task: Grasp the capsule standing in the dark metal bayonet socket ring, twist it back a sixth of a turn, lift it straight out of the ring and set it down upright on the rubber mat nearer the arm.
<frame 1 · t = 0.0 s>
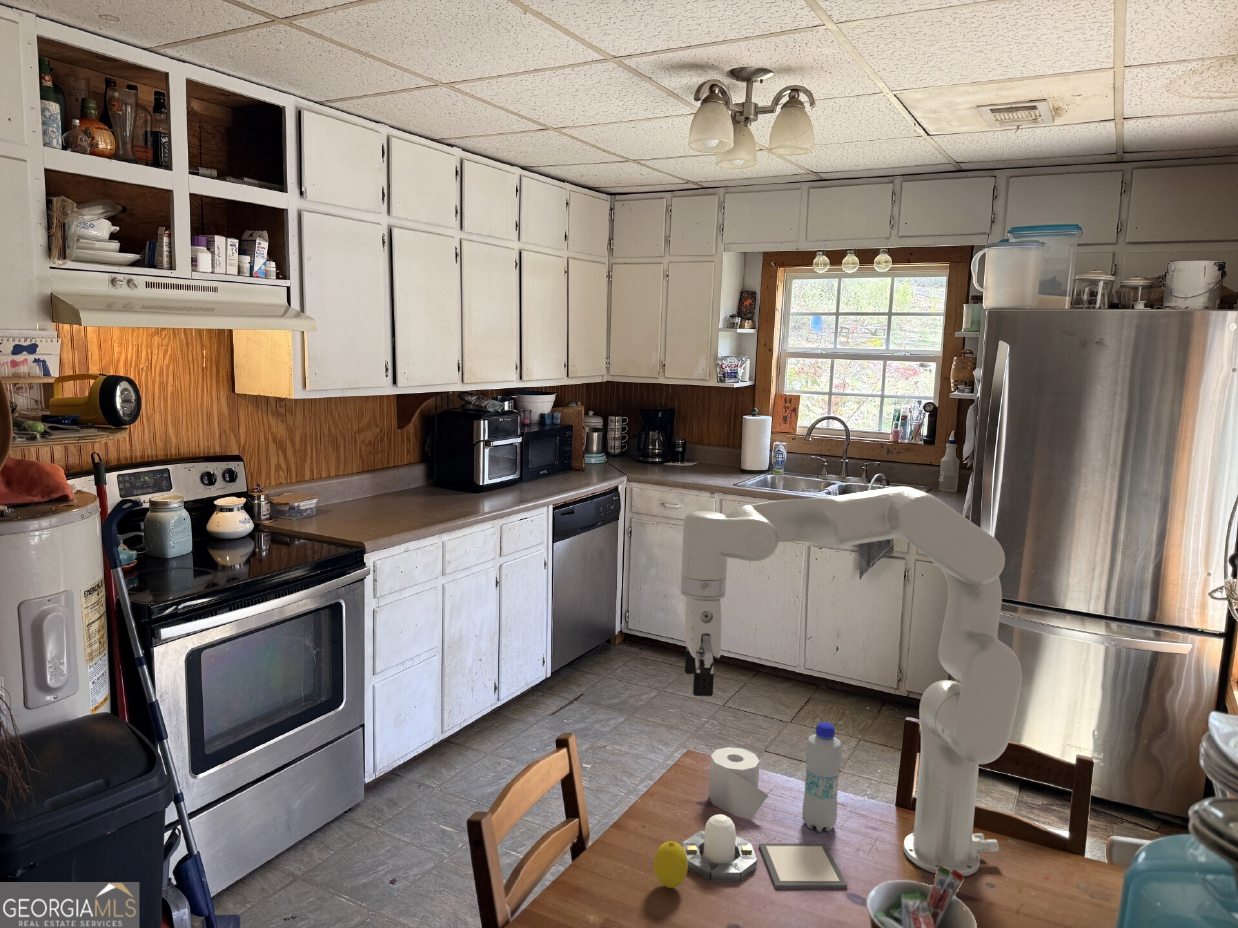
hand: (698, 683, 139), 31 cm above the table, fingers open, 9 cm apart
bottle: (818, 825, 154), on the table
toilet tissue: (736, 803, 161), on the table
mat: (801, 866, 141), on the table
capsule: (718, 860, 142), resting in socket ring
socket ring: (718, 859, 142), on the table
lemon: (669, 888, 134), on the table
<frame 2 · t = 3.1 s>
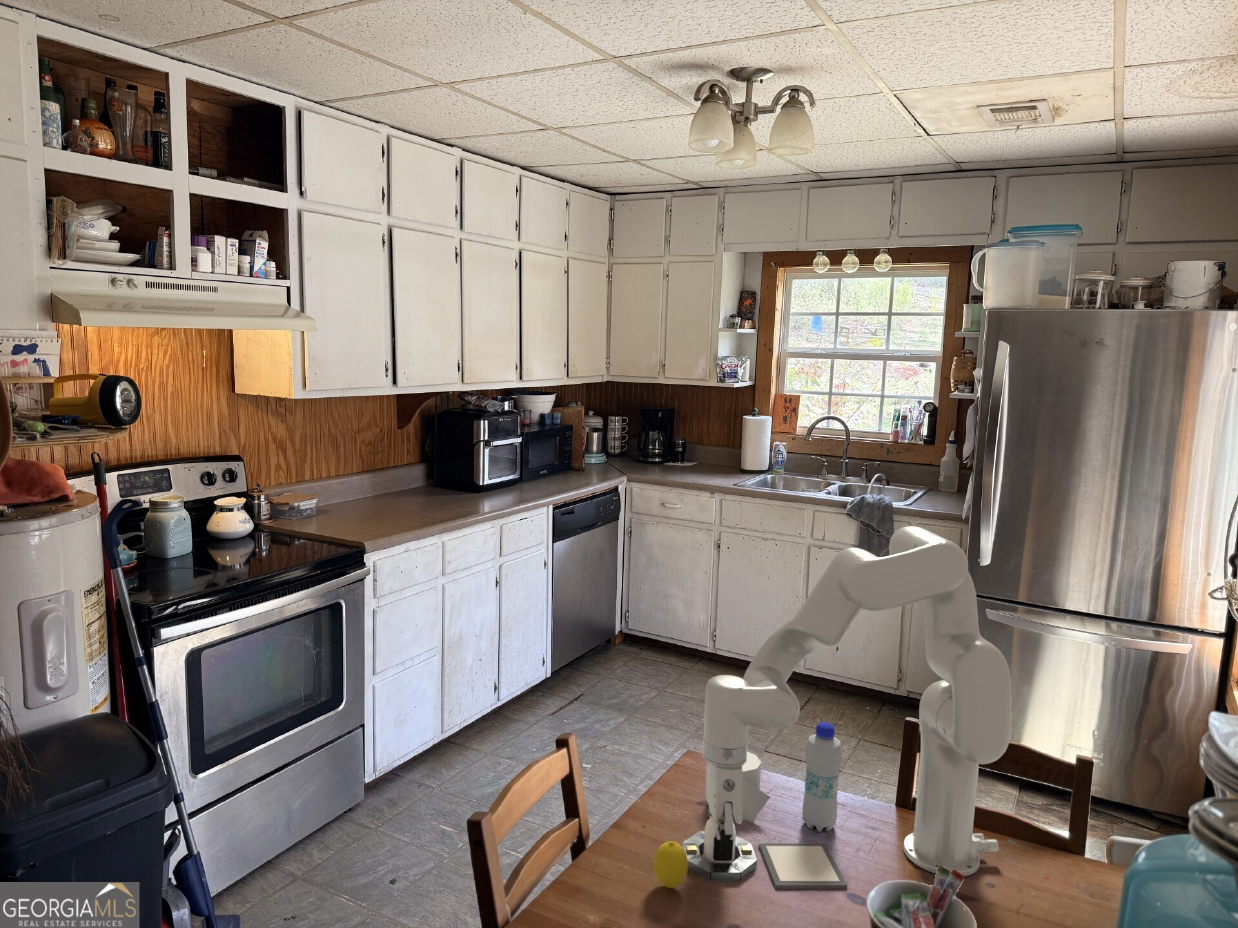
hand: (719, 848, 142), 2 cm above the table, fingers closed on capsule, 5 cm apart
capsule: (718, 860, 142), resting in socket ring, touching gripper
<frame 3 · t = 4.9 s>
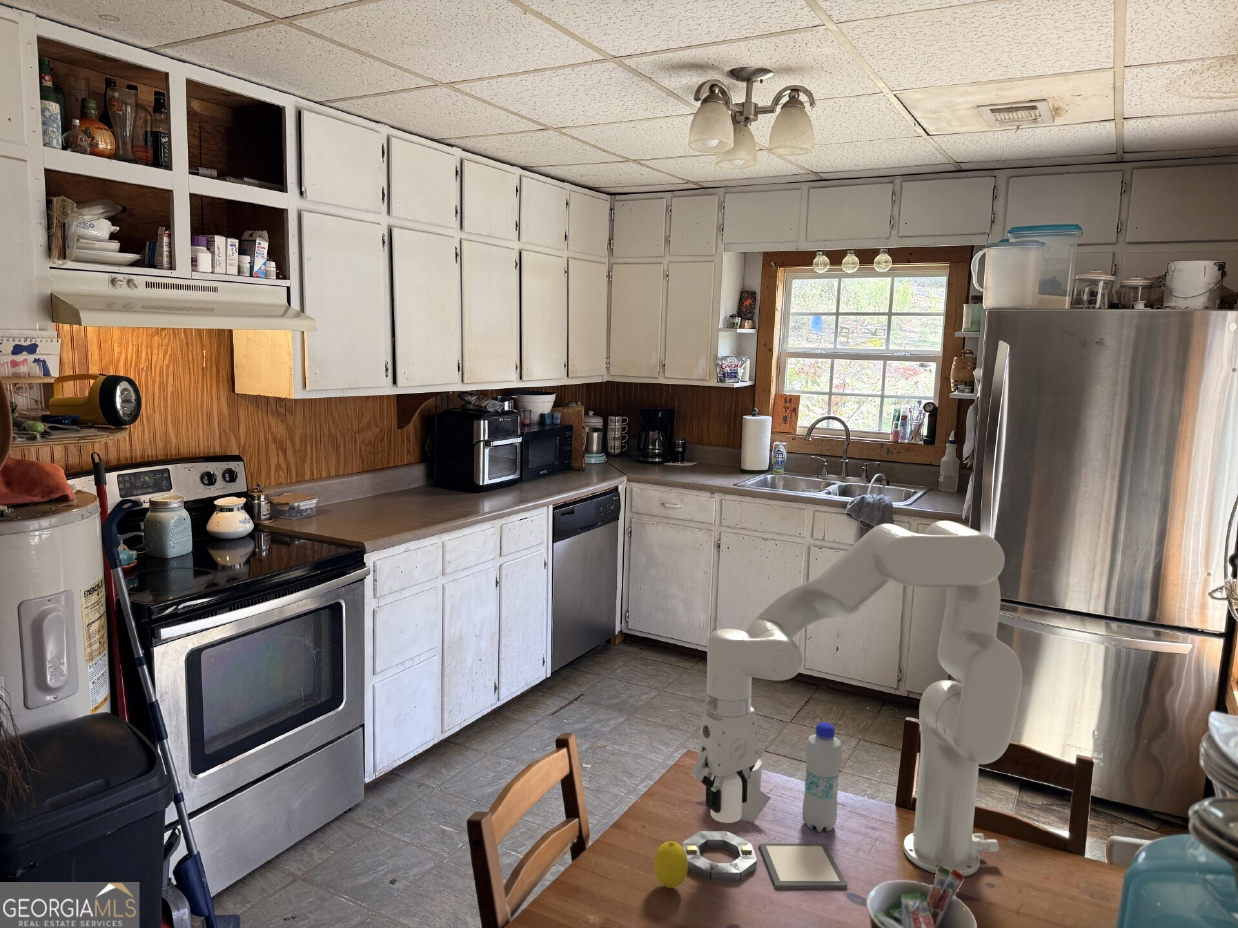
hand: (726, 802, 141), 10 cm above the table, fingers closed on capsule, 5 cm apart
capsule: (726, 815, 141), point 8 cm above the table, touching gripper
everything else where it was.
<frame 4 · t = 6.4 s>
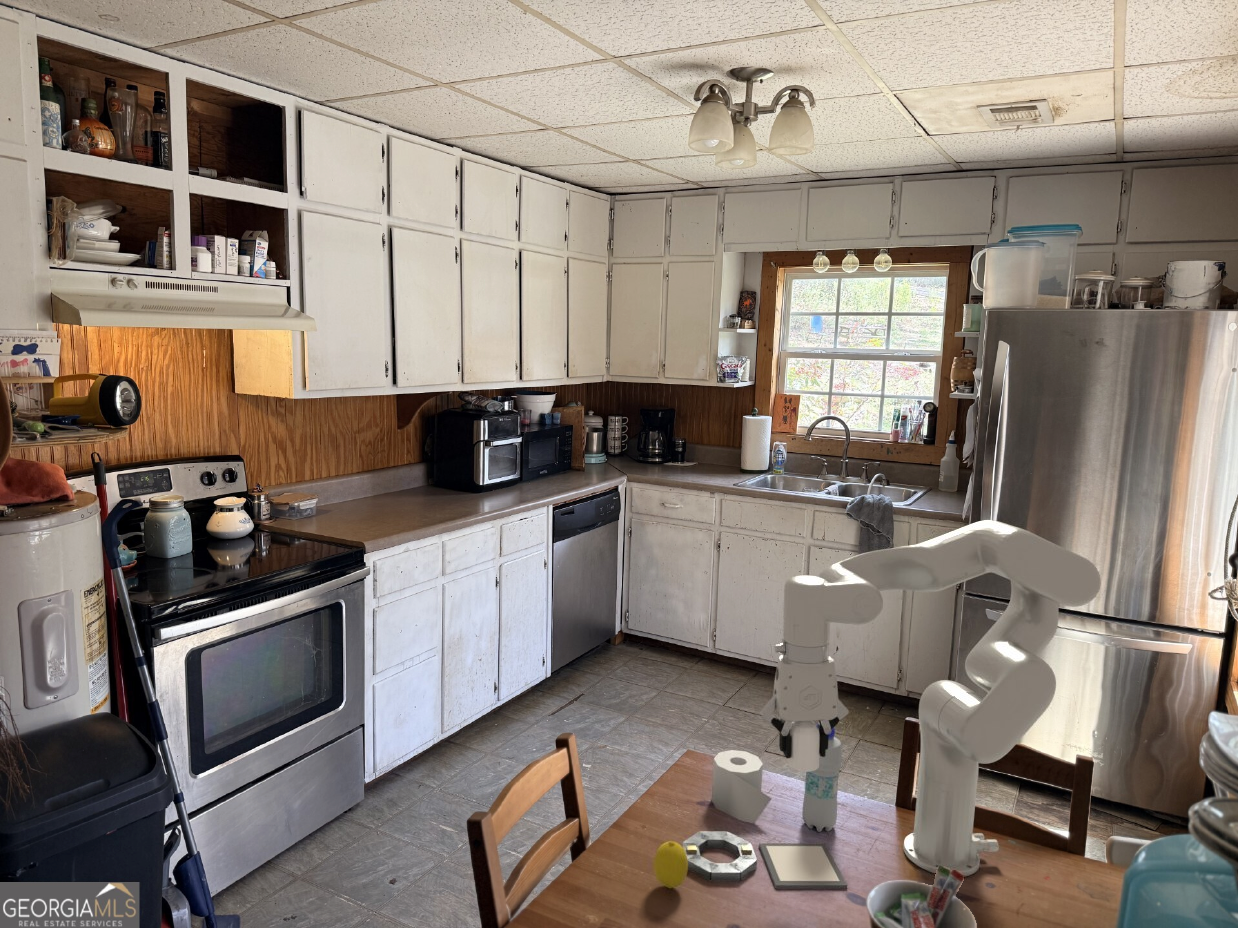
hand: (803, 752, 139), 20 cm above the table, fingers closed on capsule, 5 cm apart
capsule: (802, 764, 139), point 18 cm above the table, touching gripper
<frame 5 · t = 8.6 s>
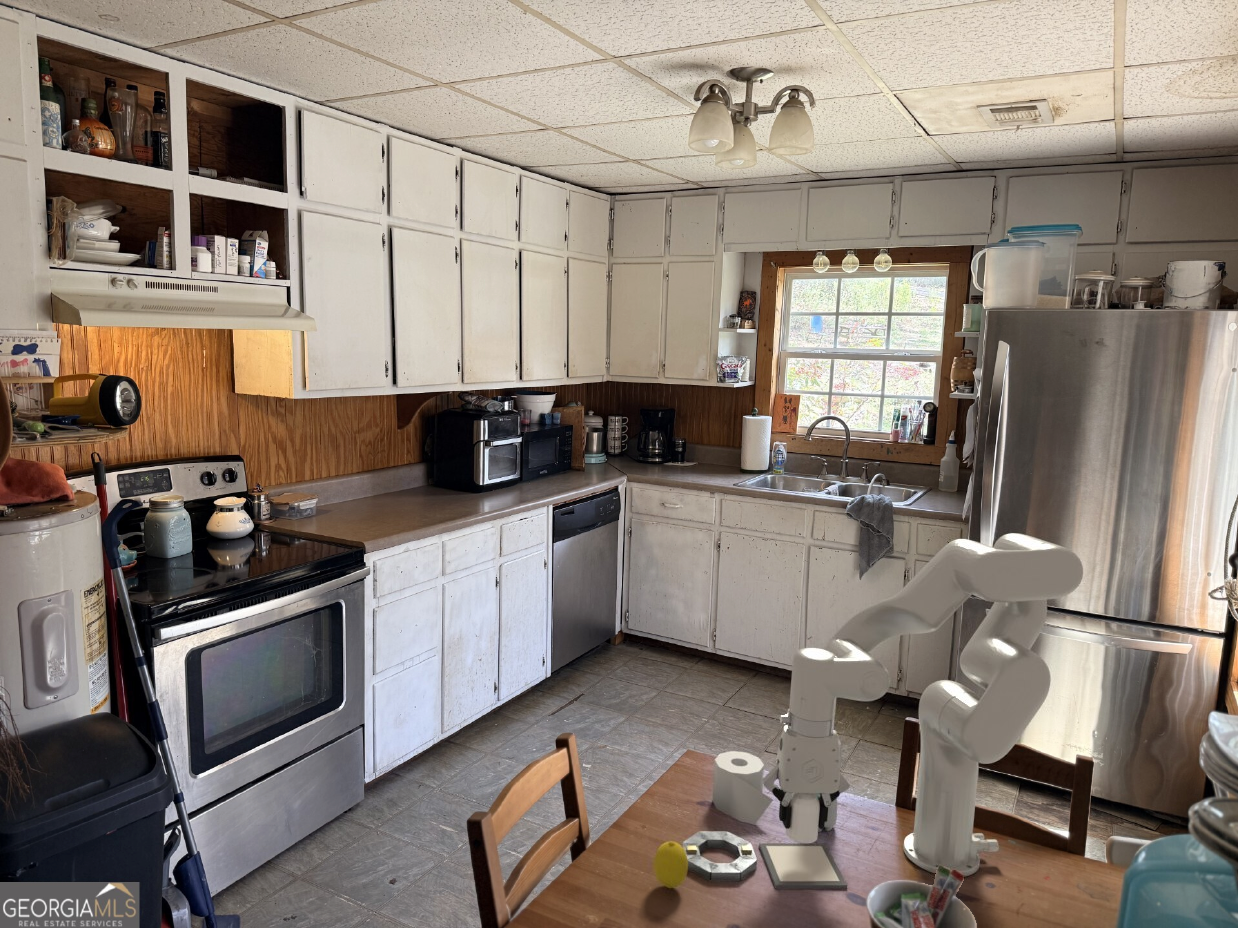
hand: (802, 823, 140), 8 cm above the table, fingers closed on capsule, 5 cm apart
capsule: (801, 835, 140), point 6 cm above the table, touching gripper
when the fingers open (3 cm above the table, at t = 10.2 s): capsule stays where it is, resting on mat.
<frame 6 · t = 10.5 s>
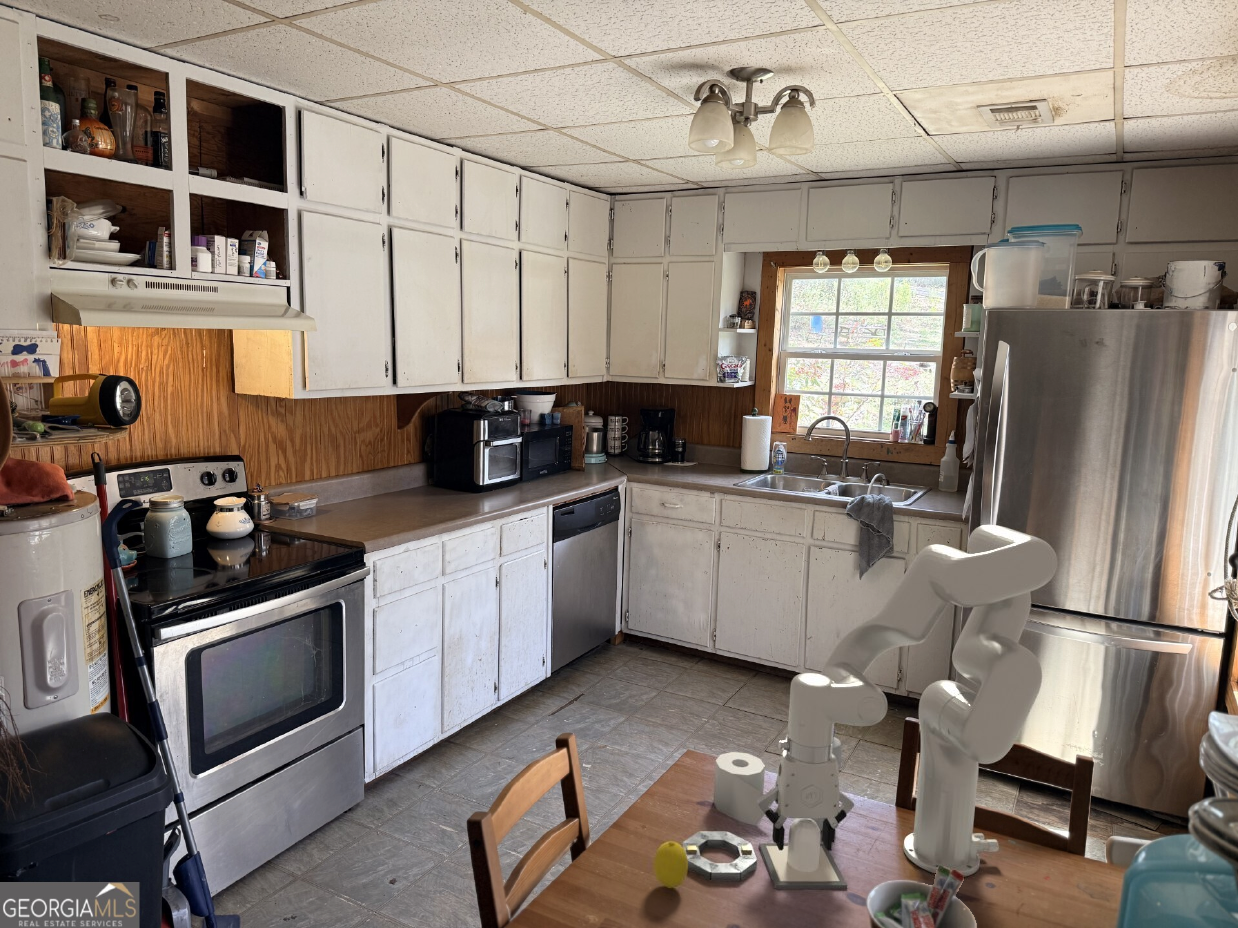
hand: (802, 845, 141), 4 cm above the table, fingers open, 7 cm apart
capsule: (802, 863, 141), point 1 cm above the table, touching mat
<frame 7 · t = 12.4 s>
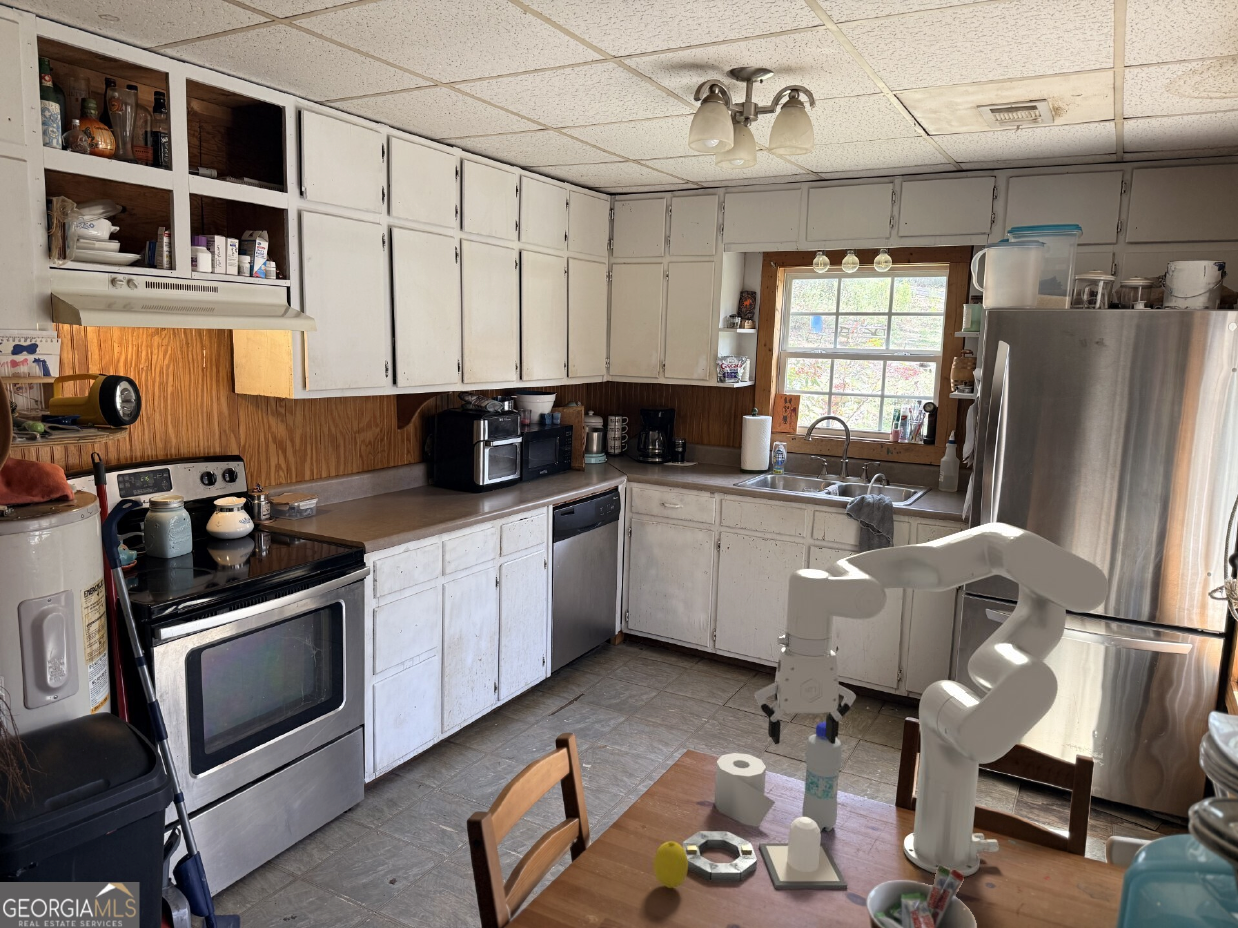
hand: (802, 740, 140), 22 cm above the table, fingers open, 9 cm apart
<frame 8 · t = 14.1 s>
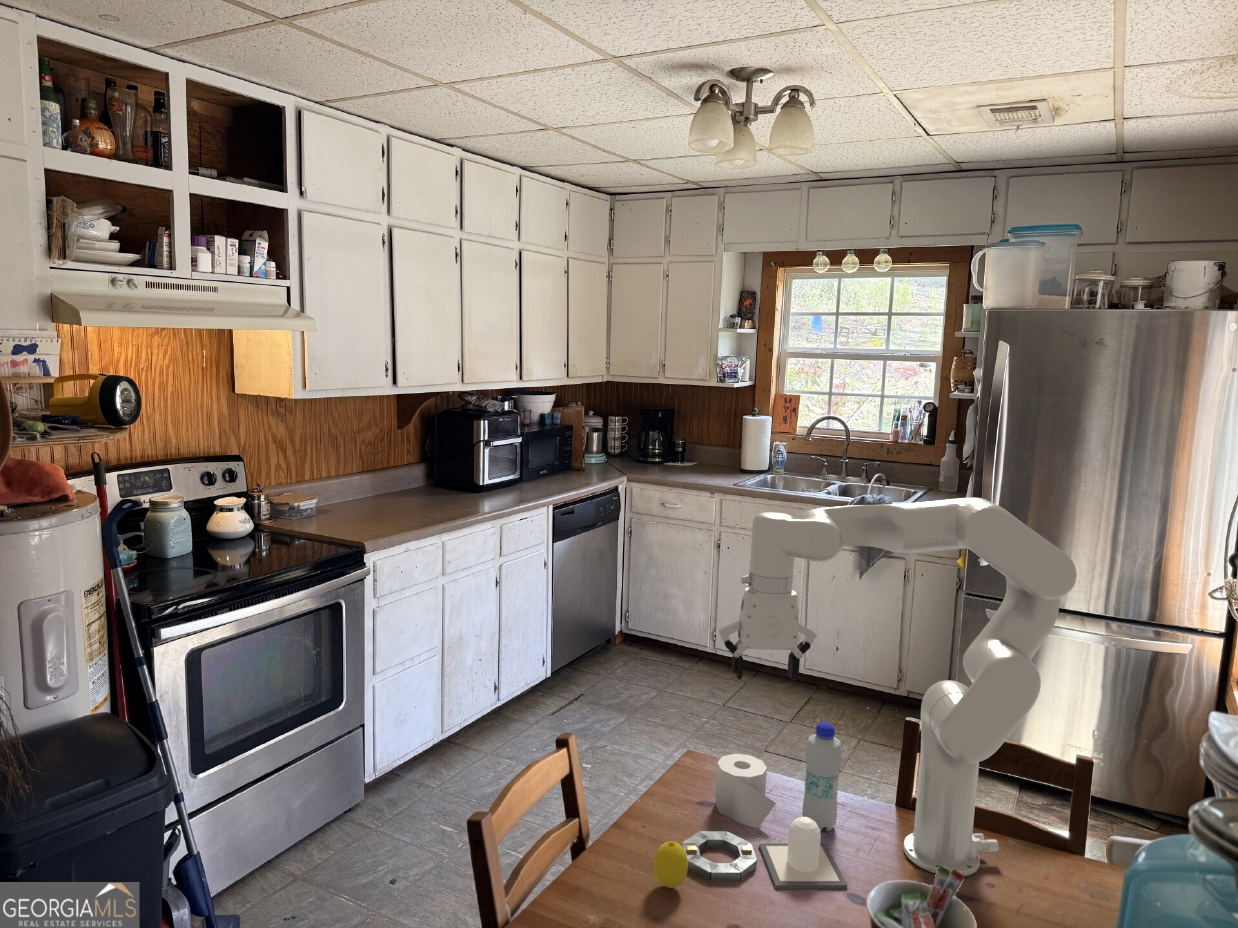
hand: (764, 676, 146), 30 cm above the table, fingers open, 9 cm apart
at the end: capsule inside the target area on the mat (0.2 cm from its centre), point 0.5 cm above the mat's base; capsule tilted 0°; the gripper is holding nothing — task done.
